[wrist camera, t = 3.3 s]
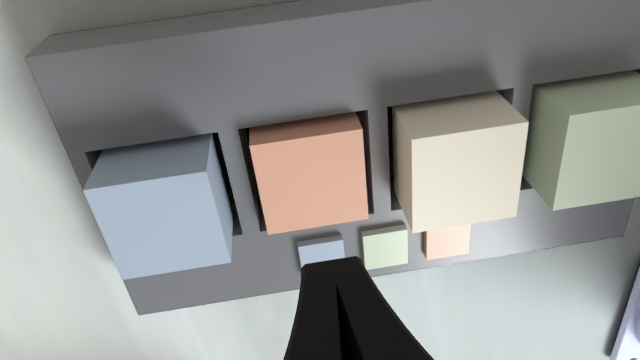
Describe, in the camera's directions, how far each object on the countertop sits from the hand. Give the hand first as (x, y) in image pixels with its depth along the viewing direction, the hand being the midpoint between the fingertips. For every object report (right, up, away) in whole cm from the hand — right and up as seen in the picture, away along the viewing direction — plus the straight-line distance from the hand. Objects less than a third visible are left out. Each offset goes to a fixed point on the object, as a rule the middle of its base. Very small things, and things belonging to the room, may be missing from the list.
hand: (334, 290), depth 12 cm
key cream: (+4, +4, +5) cm, 8 cm away
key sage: (+8, +5, +5) cm, 11 cm away
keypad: (+1, +4, +6) cm, 8 cm away
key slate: (-5, +2, +5) cm, 7 cm away
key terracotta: (-1, +4, +6) cm, 7 cm away
